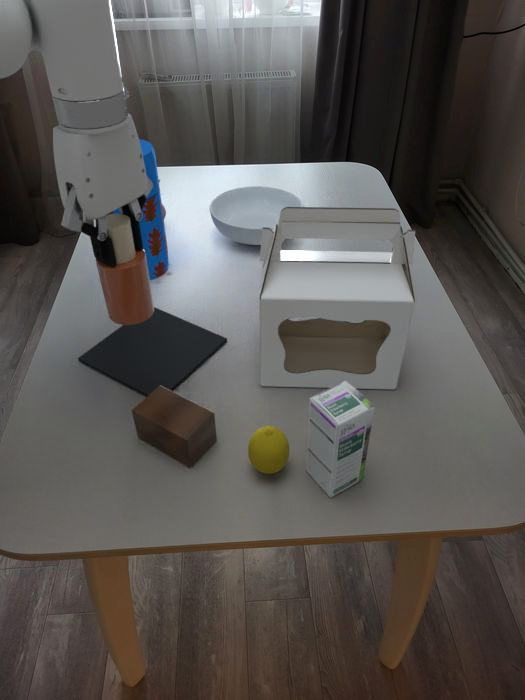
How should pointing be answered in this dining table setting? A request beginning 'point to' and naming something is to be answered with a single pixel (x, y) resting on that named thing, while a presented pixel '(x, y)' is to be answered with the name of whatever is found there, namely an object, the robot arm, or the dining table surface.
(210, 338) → the mat
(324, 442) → the syrup box
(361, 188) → the dining table surface
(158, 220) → the thermos
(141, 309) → the two-tone stacked cylinder
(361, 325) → the gable box
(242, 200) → the serving bowl
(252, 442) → the lemon
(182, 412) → the block
